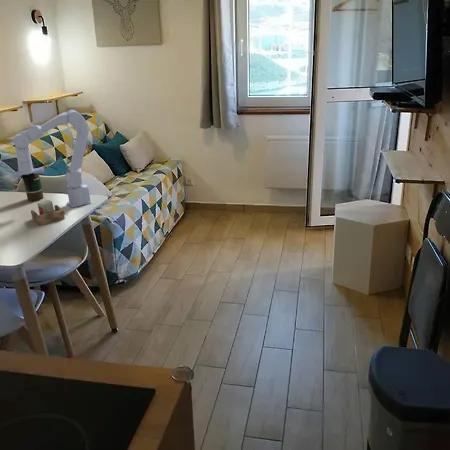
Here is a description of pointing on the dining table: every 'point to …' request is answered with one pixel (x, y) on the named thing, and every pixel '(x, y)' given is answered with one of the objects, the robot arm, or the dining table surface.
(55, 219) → the walnut shelf bay
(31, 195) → the beer bottle
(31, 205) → the dining table surface
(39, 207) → the small box
